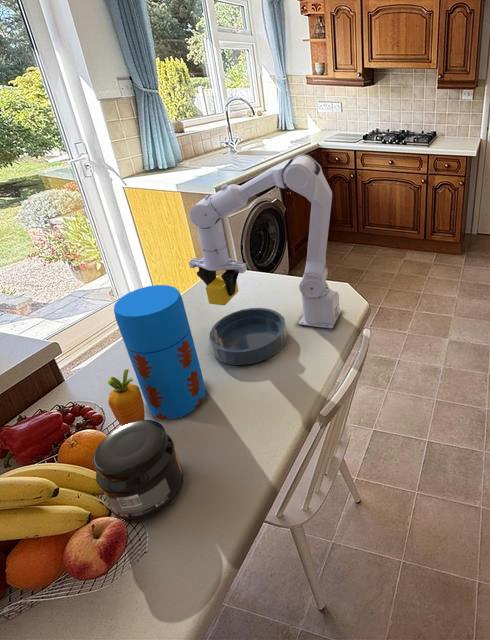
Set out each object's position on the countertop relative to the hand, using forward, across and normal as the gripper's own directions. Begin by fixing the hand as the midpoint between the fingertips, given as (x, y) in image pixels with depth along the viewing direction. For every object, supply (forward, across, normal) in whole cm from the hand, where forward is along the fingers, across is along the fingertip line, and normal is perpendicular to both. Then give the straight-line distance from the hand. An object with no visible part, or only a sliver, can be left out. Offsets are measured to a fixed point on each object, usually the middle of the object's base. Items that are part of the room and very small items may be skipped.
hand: (223, 293), depth 107 cm
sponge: (+1, 0, 0) cm, 1 cm away
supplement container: (+8, -13, +47) cm, 50 cm away
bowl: (+8, -11, +8) cm, 16 cm away
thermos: (+8, -5, +28) cm, 30 cm away
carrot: (+8, -3, +37) cm, 38 cm away
